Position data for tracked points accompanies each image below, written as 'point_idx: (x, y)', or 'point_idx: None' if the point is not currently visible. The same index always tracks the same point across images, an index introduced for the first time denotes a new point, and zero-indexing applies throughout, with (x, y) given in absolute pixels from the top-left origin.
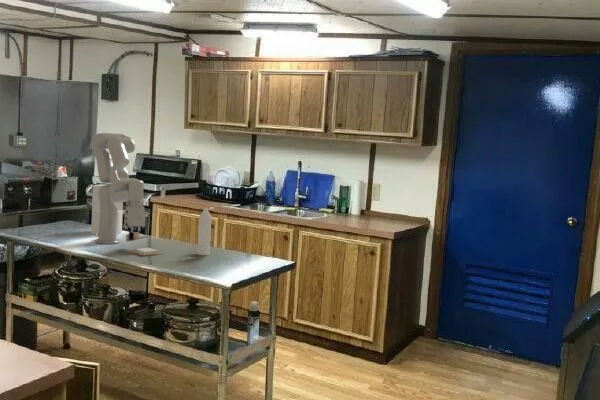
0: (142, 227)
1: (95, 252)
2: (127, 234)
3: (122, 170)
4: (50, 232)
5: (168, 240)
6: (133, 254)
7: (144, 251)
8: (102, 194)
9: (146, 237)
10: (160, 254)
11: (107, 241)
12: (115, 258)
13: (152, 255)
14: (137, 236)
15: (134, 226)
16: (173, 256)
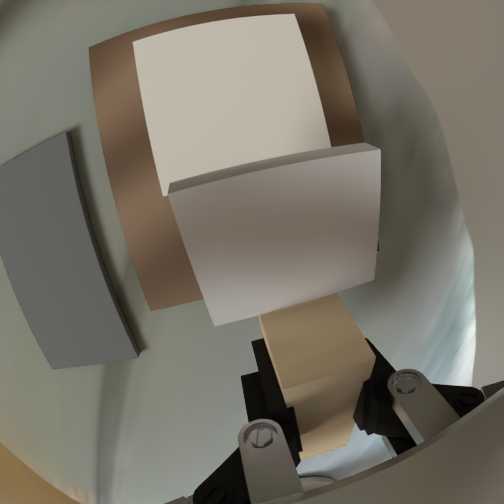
0: (186, 500)
1: (453, 324)
2: (349, 432)
3: None
4: None
5: (31, 465)
6: (350, 106)
7: (285, 26)
8: None
9: (190, 177)
10: (123, 45)
11: (307, 489)
12: (442, 137)
13: (208, 22)
14: (305, 315)
15: (450, 426)
16: (32, 83)
